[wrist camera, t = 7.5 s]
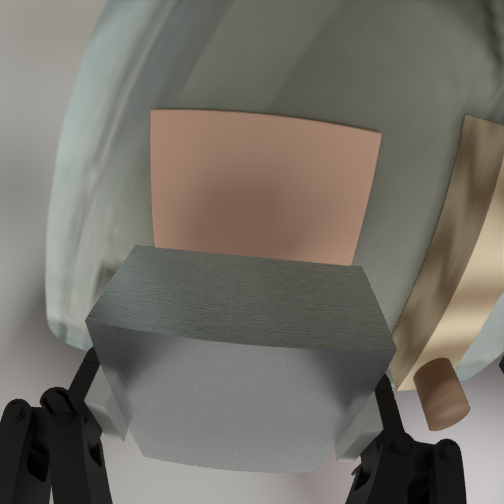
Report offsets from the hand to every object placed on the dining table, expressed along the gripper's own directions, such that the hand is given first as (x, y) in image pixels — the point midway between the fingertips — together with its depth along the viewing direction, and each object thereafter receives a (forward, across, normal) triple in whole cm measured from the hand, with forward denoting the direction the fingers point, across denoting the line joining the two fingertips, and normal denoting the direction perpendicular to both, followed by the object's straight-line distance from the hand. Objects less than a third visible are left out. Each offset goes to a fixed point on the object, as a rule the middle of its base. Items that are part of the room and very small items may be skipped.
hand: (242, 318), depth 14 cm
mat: (+8, 0, 0) cm, 8 cm away
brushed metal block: (-2, 0, 0) cm, 2 cm away
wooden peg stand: (+8, +16, 0) cm, 18 cm away
